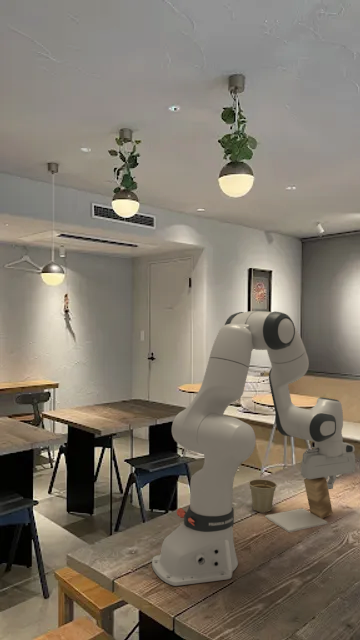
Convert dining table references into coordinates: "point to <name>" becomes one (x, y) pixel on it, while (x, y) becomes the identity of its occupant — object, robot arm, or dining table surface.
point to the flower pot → (262, 494)
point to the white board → (296, 520)
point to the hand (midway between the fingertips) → (327, 488)
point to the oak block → (318, 497)
